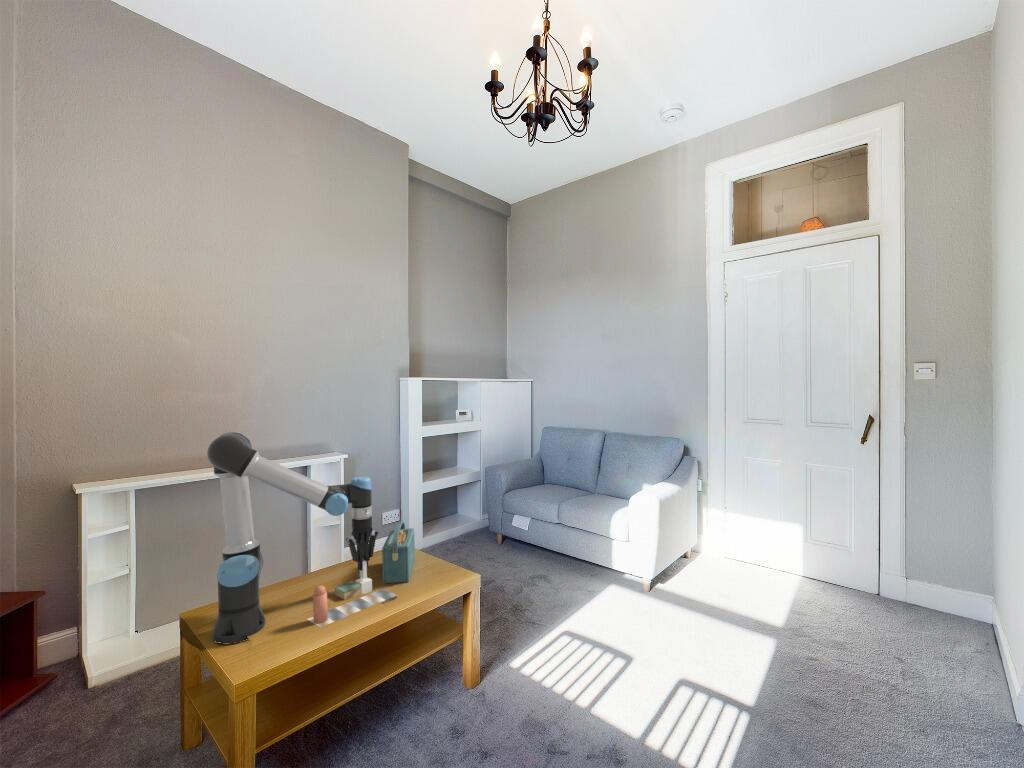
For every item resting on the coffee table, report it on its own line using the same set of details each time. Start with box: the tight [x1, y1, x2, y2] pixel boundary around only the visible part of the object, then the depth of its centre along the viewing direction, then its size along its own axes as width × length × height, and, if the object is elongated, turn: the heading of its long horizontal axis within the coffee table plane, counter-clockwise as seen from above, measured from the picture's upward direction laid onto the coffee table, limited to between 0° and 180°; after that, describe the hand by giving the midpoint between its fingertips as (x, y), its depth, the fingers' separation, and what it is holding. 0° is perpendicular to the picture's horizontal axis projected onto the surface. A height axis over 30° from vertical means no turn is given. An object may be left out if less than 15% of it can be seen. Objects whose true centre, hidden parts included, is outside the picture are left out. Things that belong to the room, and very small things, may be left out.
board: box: [307, 588, 398, 628], centre depth 167 cm, size 30×9×1 cm, turn 139°
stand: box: [334, 581, 362, 601], centre depth 177 cm, size 7×7×4 cm
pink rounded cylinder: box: [312, 585, 328, 624], centre depth 158 cm, size 4×4×12 cm
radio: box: [381, 521, 416, 585], centre depth 201 cm, size 26×11×20 cm, turn 6°
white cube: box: [354, 577, 373, 595], centre depth 182 cm, size 4×4×4 cm
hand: (363, 577), depth 182 cm, fingers closed
